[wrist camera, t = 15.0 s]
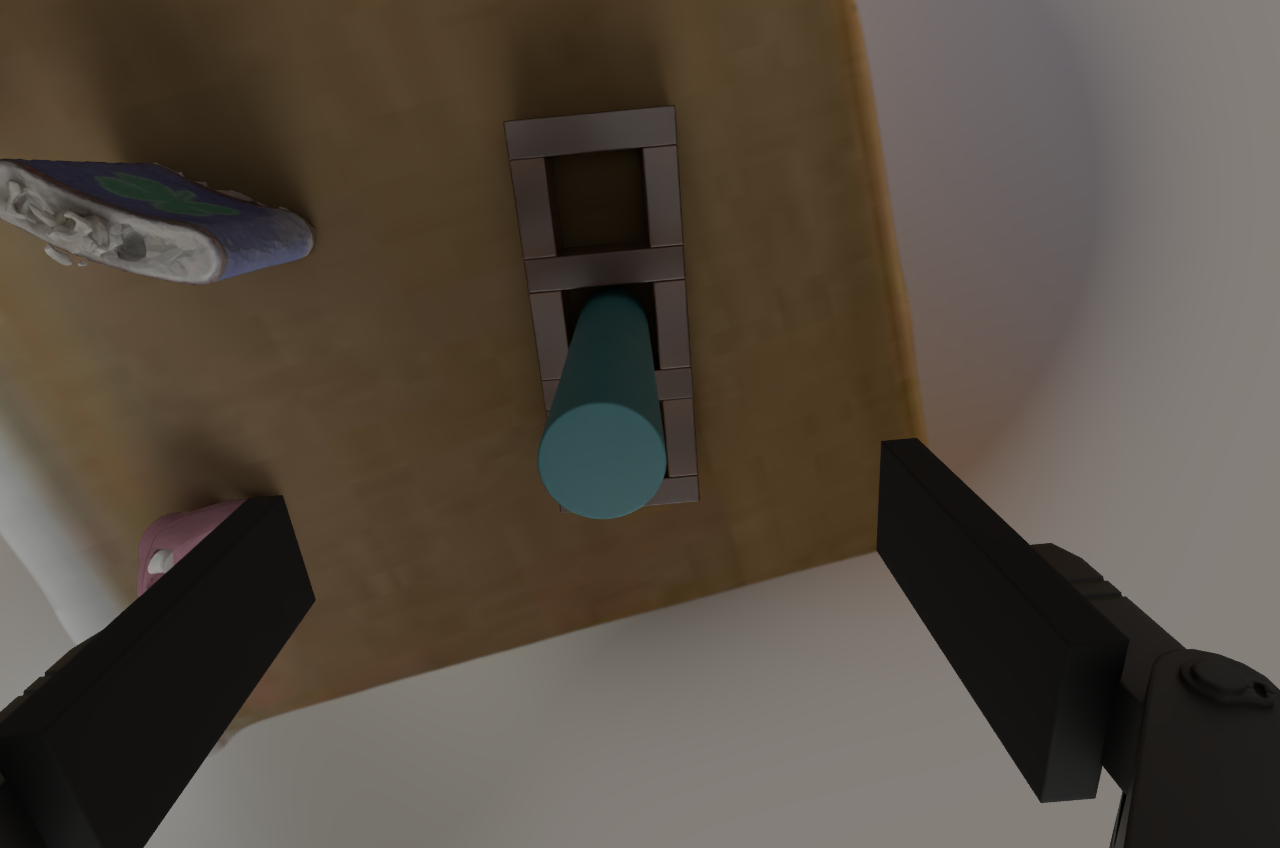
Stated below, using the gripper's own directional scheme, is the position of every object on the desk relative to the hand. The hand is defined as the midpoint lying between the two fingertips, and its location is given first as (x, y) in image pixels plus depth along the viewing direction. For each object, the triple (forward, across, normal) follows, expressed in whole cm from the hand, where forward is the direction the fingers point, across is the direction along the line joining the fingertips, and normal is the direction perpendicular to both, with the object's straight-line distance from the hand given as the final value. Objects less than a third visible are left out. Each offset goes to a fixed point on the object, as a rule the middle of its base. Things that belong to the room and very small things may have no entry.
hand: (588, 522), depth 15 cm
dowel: (+23, 0, -1) cm, 23 cm away
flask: (+23, -19, +7) cm, 31 cm away
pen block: (+23, 0, 0) cm, 23 cm away
